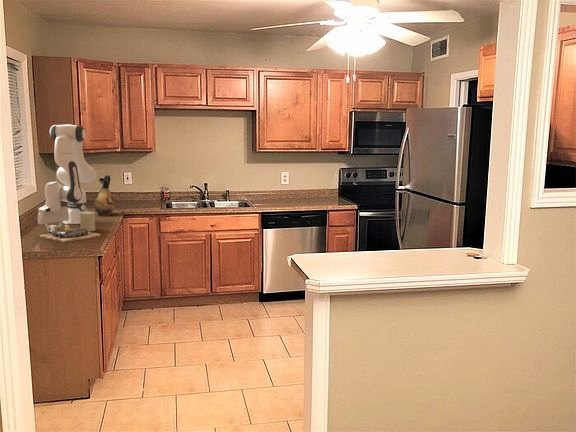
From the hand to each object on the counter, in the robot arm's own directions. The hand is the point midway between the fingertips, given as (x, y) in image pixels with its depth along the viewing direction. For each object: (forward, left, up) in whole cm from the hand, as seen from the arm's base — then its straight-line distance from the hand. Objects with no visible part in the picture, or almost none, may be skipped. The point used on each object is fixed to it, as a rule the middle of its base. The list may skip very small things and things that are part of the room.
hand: (54, 229), depth 343 cm
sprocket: (+19, -2, 0) cm, 19 cm away
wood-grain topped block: (0, 0, -2) cm, 2 cm away
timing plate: (+19, -2, -2) cm, 19 cm away
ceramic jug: (-28, +63, -2) cm, 69 cm away
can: (+11, +17, -2) cm, 20 cm away
